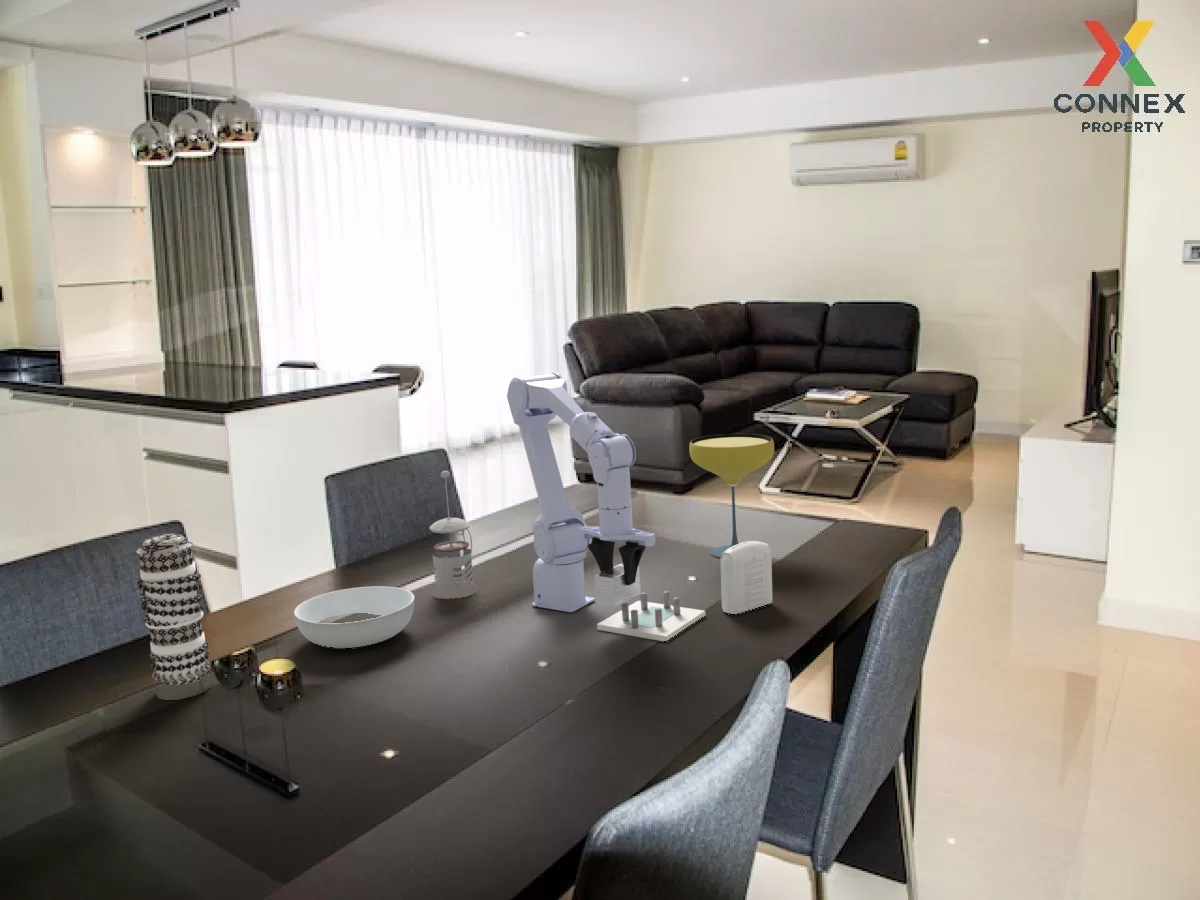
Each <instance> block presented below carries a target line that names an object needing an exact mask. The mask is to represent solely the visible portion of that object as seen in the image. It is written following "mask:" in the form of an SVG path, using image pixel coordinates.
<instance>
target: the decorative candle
mask: <svg viewBox="0 0 1200 900" xmlns="http://www.w3.org/2000/svg"><path fill="white" fill-rule="evenodd" d="M193 544H194V542H192V541H190V540H188V539H187V537H185V536H184V535H182V534H180V533H166V534H165V533H164V534H160V535H159V534H158V535H155V536H151V537H149V538H147V539H145V540H144V541H143V543H142V545H141V547H139V548H138V549H137V550H136V553H137V554H138V556H139V557H138V558H139V563H140V570H139V572H140V574H139V575H140V578H139V579H138V580H137V588H138V589H140V590H141V592H140V593H139V597H140V601H141V610H142V611H143V612H144V613H145V614H144V616H143V618H144V623H145V626H146V627H147V628H148V629H149V635H150V642H149V644H150V651H151V652H150V653H149V659H151V660H152V662H151V669H153V672H152V679H153V681H154V682H155V681H156V682H158V683H160V684H163V683H164V684H166V685H181V686H182V685H184V684H187V683H188V684H192V683H193V682H195V681H196V682H199V681H200V679H204V678H205V677H204V676H205V675H209V674H208V673H207V672H208V671H210V669H211V665H212V663H211V662H210V661H208V659H209V656H210V653H209V651H207V649H208V647H209V643H208V642H206V638H205V631H203V628H202V626H203V624H202V620H201V619H202V618H203V617H204V612H203V610H204V605H203V604H201V603H200V602H201V601H202V600H203V598H204V597H203V595H201V594H198V592H197V591H199V589H201V588H202V586H203V584H202V583H201V582H199V581H198V580H199V579H200V578H201V577H202V575H201V574H200V573H199V572H196V562H195V560H194V559H193V551H192V546H193Z"/></svg>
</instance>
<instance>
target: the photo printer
mask: <svg viewBox="0 0 1200 900" xmlns="http://www.w3.org/2000/svg"><path fill="white" fill-rule="evenodd" d="M719 559H720V561H719V563H720V597H721V599H720V600H721V610H723V613H724V612H726V613H731V614H735V615H737V614H738V613H739V614H743V613H746V612H745V611H747V612H749V611H748V610H750V611H753V610H752V609H754V610H756V609H755V608H757V609H759V608H758V607H761V606H764V605H767V604H770V603H773V568H772V567H773V566H772V565H773V562H772V561H773V560H772V559H773V558H772V550H771V548H770V546H769V544H768V543H766V542H761V541H757V540H751V541H748V540H747V541H743V542H740V543H739V542H738V544H737V545H734V546H732V547H730V548H729V549H727V550H726V551H724V552H723V553H722V555H721V558H719ZM770 605H771V604H770ZM764 607H765V606H764ZM761 608H762V607H761ZM742 612H743V613H742ZM726 613H725V614H726ZM739 614H738V615H739Z"/></svg>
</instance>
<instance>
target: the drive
mask: <svg viewBox="0 0 1200 900" xmlns="http://www.w3.org/2000/svg"><path fill="white" fill-rule="evenodd" d="M640 567H641V566H639V565H638V569H637V573H636V579H635V583H633V584H631V585H626V584H625V579H624V566H623V563H619V564H617V565H615V566H613V567H612V568H610V569H608V570H606V571H604V572H601V571H600V572H599V573H598V574H595V575H594V583H595V586H594V587H595V603H596V605H597V604H598V605H604V606H609V607H614V608H615V607H618V606H620V605H622V603H627V602H628V601H629V600H631V599H633V598H635V597H637V596H639V595H640V594H641V593H642V592H641V591H642V590H641V571H640V570H641V568H640Z"/></svg>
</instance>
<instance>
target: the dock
mask: <svg viewBox="0 0 1200 900" xmlns="http://www.w3.org/2000/svg"><path fill="white" fill-rule="evenodd" d="M662 593H663V595H662V596H663V603H658V602H652V601H651V602H650V601H648V593H647V592H641V594H639V595H640V600H637V601H635V602H633V603H632V604H630V605H629V603H627V602H624V603H622V604H621V610H619V611H617V612H615V613H614V614H612V615H610V616H609V617H607V618H605V619H604V620H602V621H600V622H599V623H596V629H597V630H598V631H602V632H604V631H605V632H610V633H614V634H620V635H625V636H631V637H636V638H642V639H647V640H654V641H659V642H664V641H667V640H669V639H670V638H672V637H673V638H675V637H676V636H678V635H679V634H680V633H679V632H681V631H682V630H684V629H685V628H687V627H688V626H690V625H691V624H693V623H694V624H696V623H697V622H698V620H699V619H700V620H702V619H703V618H705V617H706V610H702V609H696V608H690V607H689V608H688V607H683V606H681V597H678V596H677V597H675V596H674V597H673V598H672V601H673V602H672V603H673V605H672V604H671V592H670V590H664V591H663V592H662ZM704 616H705V617H704ZM702 617H703V618H702ZM701 618H702V619H701ZM700 620H699V621H700ZM696 621H697V622H696ZM695 622H696V623H695ZM694 624H693V625H694ZM691 626H692V625H691ZM691 626H690V627H691ZM688 628H689V627H688ZM688 628H687V629H688ZM685 630H686V629H685ZM685 630H684V631H685ZM682 632H683V631H682ZM682 632H681V633H682ZM678 633H679V634H678ZM677 634H678V635H677ZM675 635H676V636H675ZM674 636H675V637H674ZM673 638H672V639H673ZM670 640H671V639H670ZM670 640H669V641H670ZM667 642H668V641H667Z"/></svg>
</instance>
